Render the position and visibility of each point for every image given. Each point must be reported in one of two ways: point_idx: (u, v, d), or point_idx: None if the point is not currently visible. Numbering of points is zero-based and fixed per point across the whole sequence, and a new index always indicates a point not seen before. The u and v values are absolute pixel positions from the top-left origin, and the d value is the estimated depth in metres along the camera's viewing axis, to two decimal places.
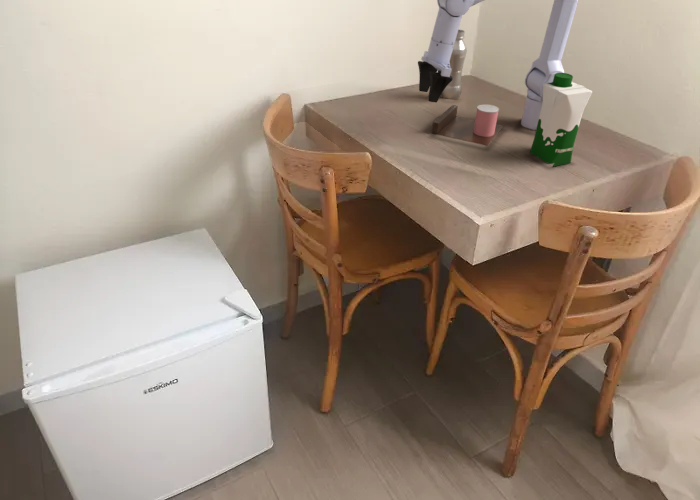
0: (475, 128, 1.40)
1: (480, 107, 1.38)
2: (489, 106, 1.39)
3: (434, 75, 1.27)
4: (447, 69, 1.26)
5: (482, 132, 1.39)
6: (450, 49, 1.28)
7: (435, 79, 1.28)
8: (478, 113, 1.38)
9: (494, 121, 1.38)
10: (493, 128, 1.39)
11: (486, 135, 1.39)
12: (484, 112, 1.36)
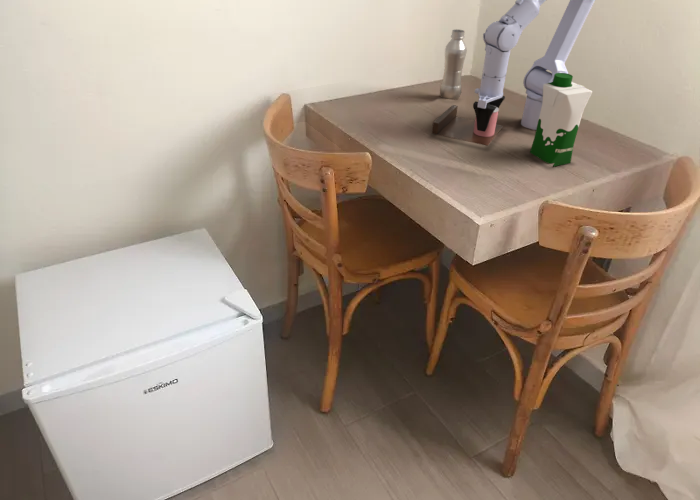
0: (475, 128, 1.40)
1: None
2: None
3: (474, 105, 1.34)
4: (482, 101, 1.30)
5: (482, 132, 1.39)
6: (496, 82, 1.31)
7: (476, 109, 1.35)
8: None
9: (494, 121, 1.38)
10: (493, 128, 1.39)
11: (486, 135, 1.39)
12: None
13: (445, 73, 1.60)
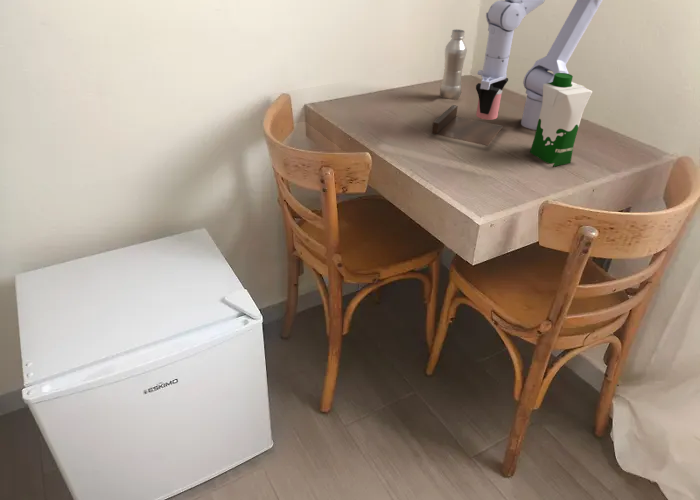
0: (478, 111, 1.38)
1: None
2: None
3: (477, 87, 1.31)
4: (485, 82, 1.28)
5: (485, 115, 1.36)
6: (499, 63, 1.29)
7: (479, 90, 1.32)
8: None
9: (497, 103, 1.35)
10: (496, 111, 1.36)
11: (489, 118, 1.37)
12: None
13: (445, 73, 1.60)
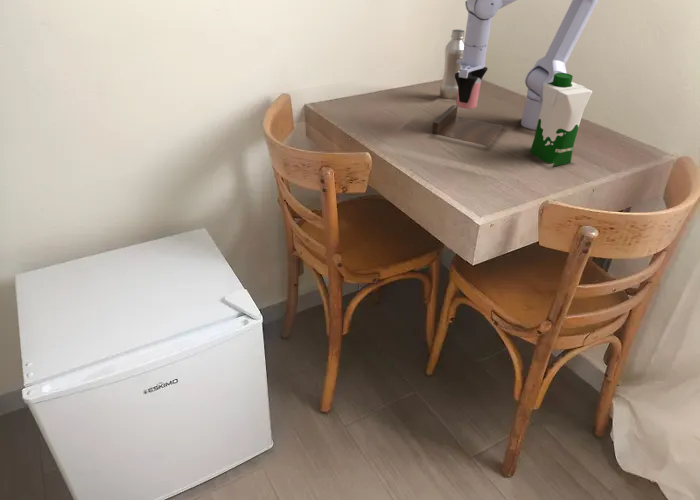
0: (457, 100, 1.39)
1: None
2: None
3: (455, 75, 1.32)
4: (463, 70, 1.29)
5: (464, 104, 1.38)
6: (477, 52, 1.30)
7: (457, 79, 1.33)
8: None
9: (476, 92, 1.36)
10: (475, 100, 1.37)
11: (468, 107, 1.38)
12: None
13: (445, 73, 1.60)
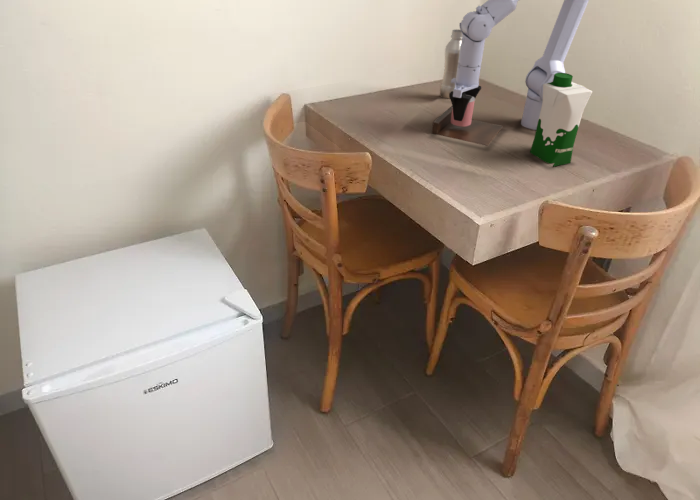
0: (452, 118, 1.42)
1: None
2: None
3: (450, 94, 1.36)
4: (457, 90, 1.32)
5: (459, 122, 1.41)
6: (471, 72, 1.33)
7: (452, 98, 1.36)
8: None
9: (470, 111, 1.39)
10: (469, 118, 1.41)
11: (463, 125, 1.41)
12: None
13: (445, 73, 1.60)
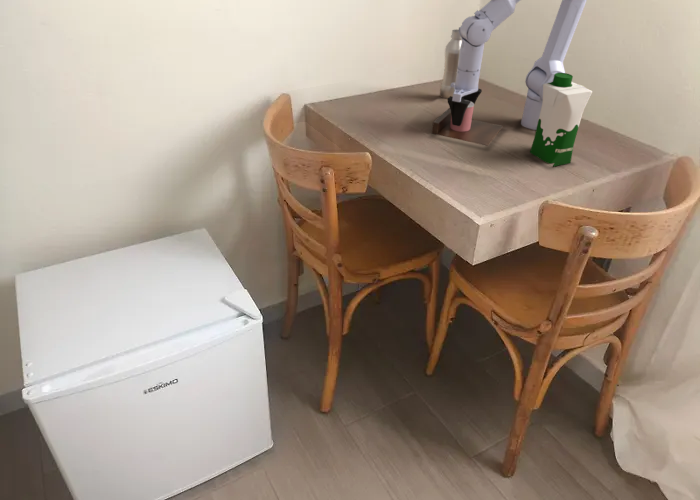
0: (451, 123, 1.43)
1: None
2: None
3: (448, 100, 1.36)
4: (456, 95, 1.33)
5: (458, 127, 1.42)
6: (470, 76, 1.34)
7: (450, 103, 1.36)
8: None
9: (469, 116, 1.40)
10: (469, 123, 1.41)
11: (462, 130, 1.42)
12: None
13: (445, 73, 1.60)
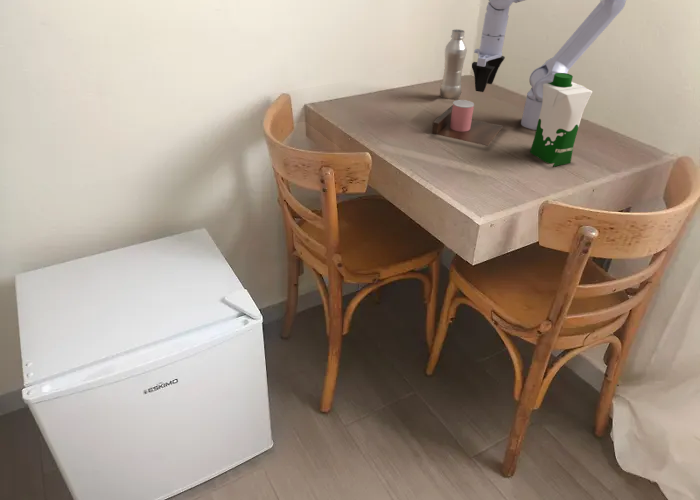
0: (451, 123, 1.43)
1: (456, 102, 1.41)
2: (465, 101, 1.41)
3: (472, 65, 1.36)
4: (481, 59, 1.33)
5: (458, 127, 1.42)
6: (495, 41, 1.34)
7: (474, 69, 1.37)
8: (454, 108, 1.40)
9: (469, 116, 1.40)
10: (469, 123, 1.41)
11: (462, 130, 1.42)
12: (459, 107, 1.39)
13: (445, 73, 1.60)
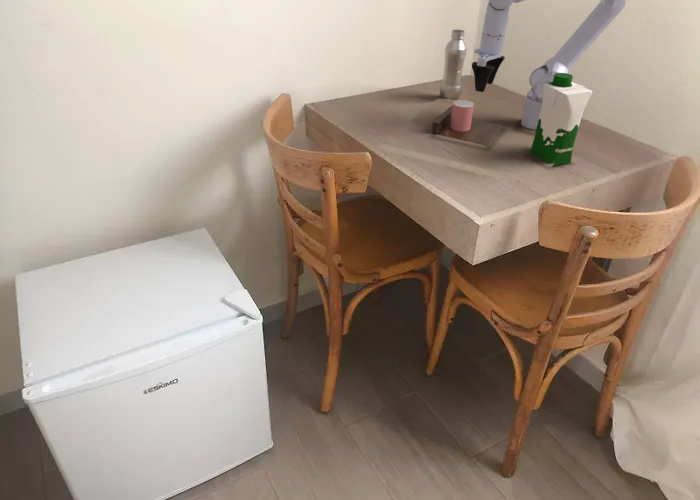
0: (451, 123, 1.43)
1: (456, 102, 1.41)
2: (465, 101, 1.41)
3: (472, 65, 1.36)
4: (481, 59, 1.33)
5: (458, 127, 1.42)
6: (495, 41, 1.34)
7: (474, 69, 1.37)
8: (454, 108, 1.40)
9: (469, 116, 1.40)
10: (469, 123, 1.41)
11: (462, 130, 1.42)
12: (459, 107, 1.39)
13: (445, 73, 1.60)
